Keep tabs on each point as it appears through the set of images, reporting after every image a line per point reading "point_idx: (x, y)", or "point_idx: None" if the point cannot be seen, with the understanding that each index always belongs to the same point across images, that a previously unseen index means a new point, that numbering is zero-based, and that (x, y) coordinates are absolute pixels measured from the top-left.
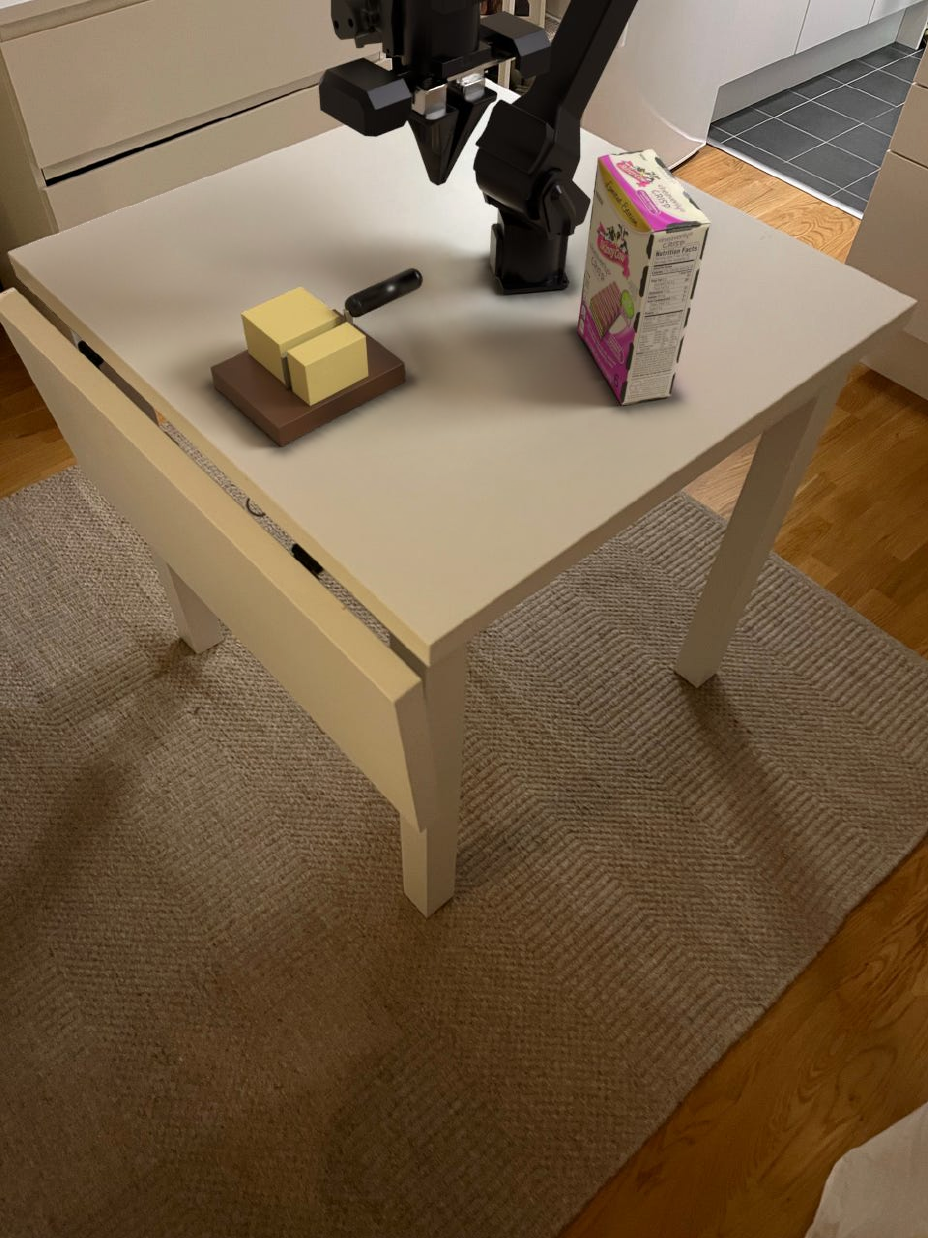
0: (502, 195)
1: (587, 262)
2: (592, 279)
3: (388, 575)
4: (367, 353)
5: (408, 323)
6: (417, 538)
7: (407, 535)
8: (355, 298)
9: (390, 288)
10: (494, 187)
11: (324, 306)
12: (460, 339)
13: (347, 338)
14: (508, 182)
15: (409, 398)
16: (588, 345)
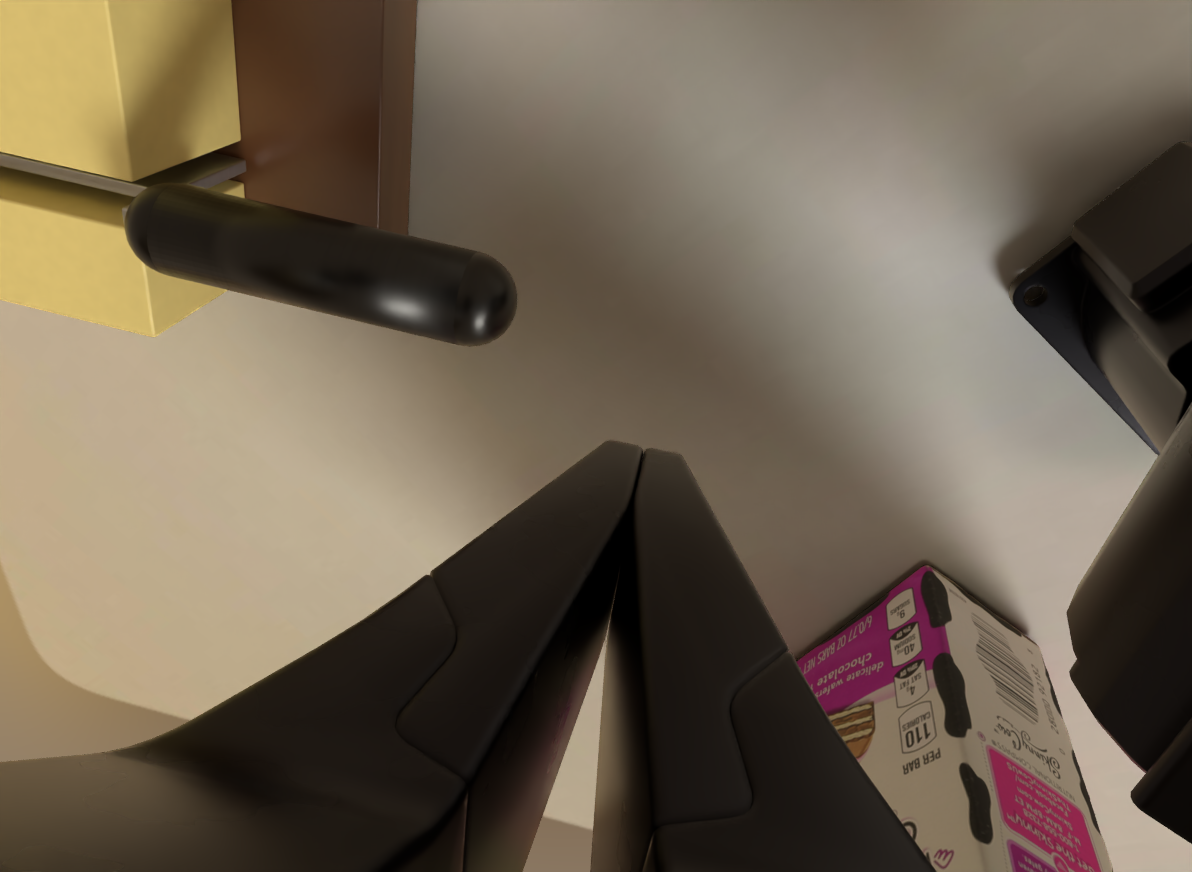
0: (1143, 494)
1: (942, 782)
2: (883, 788)
3: (42, 582)
4: (313, 197)
5: (633, 102)
6: (127, 581)
7: (115, 564)
8: (148, 252)
9: (315, 308)
10: (1182, 451)
11: (110, 83)
12: (676, 308)
13: (94, 298)
14: (1153, 598)
15: (366, 346)
16: (853, 626)
